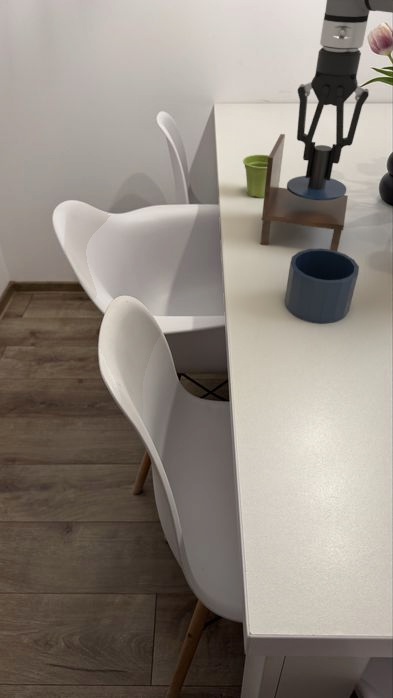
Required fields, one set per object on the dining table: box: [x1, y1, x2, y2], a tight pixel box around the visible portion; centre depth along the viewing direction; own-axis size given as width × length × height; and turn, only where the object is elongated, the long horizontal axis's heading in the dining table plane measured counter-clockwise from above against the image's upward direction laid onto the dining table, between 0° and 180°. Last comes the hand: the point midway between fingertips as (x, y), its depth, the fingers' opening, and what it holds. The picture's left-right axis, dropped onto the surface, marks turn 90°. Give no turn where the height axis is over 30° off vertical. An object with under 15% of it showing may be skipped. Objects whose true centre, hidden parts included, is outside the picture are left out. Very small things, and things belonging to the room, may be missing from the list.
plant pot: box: [242, 154, 270, 199], centre depth 126 cm, size 9×9×9 cm
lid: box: [286, 144, 347, 200], centre depth 102 cm, size 13×13×9 cm
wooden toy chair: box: [260, 133, 349, 252], centre depth 105 cm, size 17×16×19 cm
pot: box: [284, 247, 360, 324], centre depth 87 cm, size 12×12×8 cm
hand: (318, 176), depth 102 cm, fingers closed on lid, 4 cm apart
